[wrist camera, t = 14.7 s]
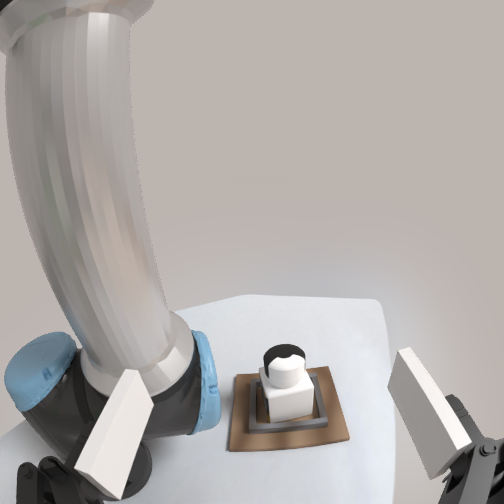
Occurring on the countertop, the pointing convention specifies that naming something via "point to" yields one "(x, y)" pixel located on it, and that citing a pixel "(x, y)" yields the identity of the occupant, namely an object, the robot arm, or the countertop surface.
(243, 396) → the dock
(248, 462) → the countertop surface
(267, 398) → the medicine bottle
